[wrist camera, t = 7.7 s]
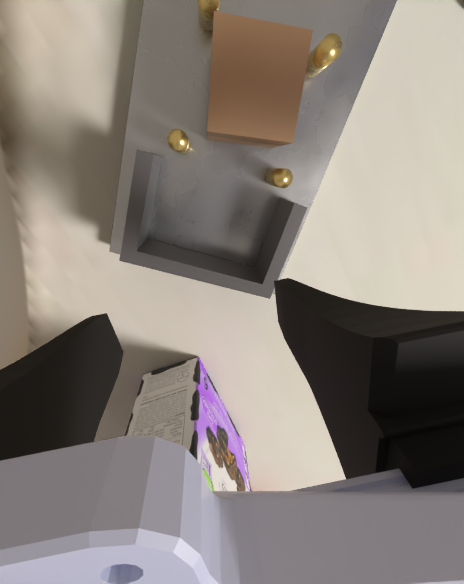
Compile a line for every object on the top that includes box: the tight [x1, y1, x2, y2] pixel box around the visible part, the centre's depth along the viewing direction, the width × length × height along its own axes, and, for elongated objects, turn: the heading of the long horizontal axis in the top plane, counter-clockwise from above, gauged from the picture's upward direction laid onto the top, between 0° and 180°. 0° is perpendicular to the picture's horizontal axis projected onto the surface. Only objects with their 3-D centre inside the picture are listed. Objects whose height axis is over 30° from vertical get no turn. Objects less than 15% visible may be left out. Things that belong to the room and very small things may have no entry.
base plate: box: [109, 0, 397, 294], centre depth 15 cm, size 19×12×4 cm, turn 162°
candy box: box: [125, 357, 251, 491], centre depth 19 cm, size 14×6×16 cm, turn 19°
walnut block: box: [207, 11, 313, 148], centre depth 13 cm, size 4×4×4 cm
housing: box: [120, 150, 307, 299], centre depth 16 cm, size 6×9×3 cm, turn 72°
